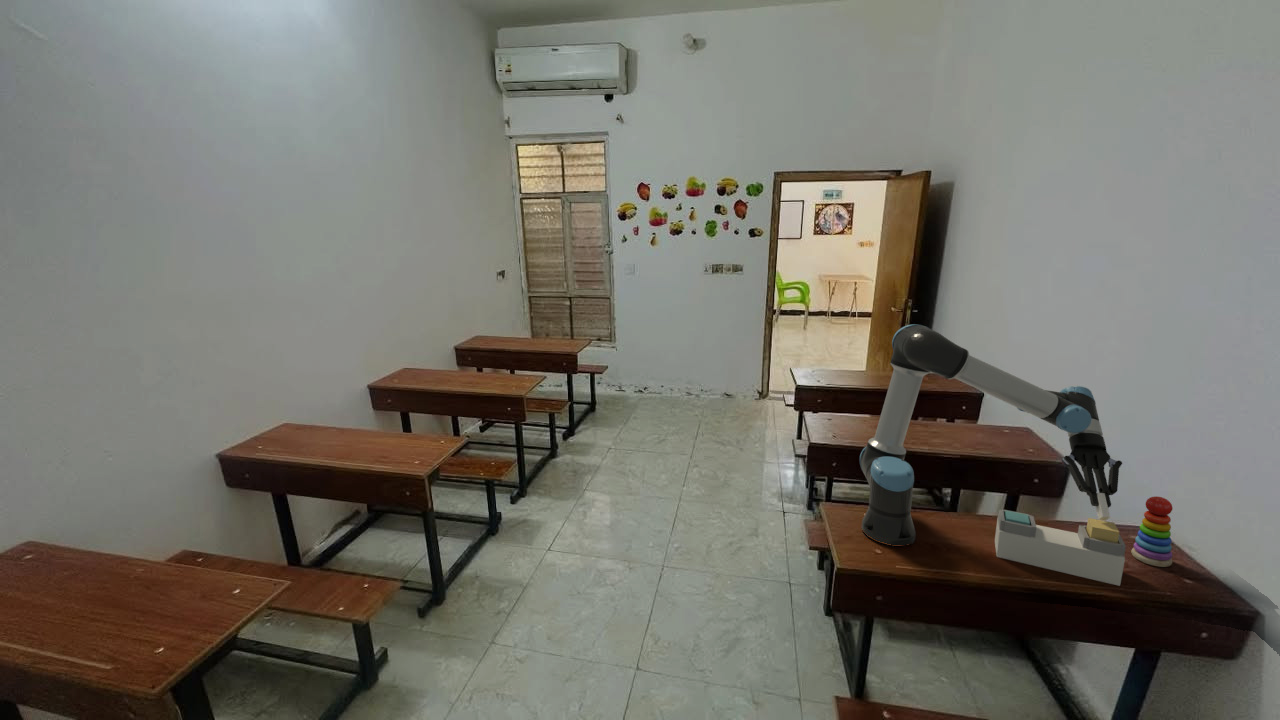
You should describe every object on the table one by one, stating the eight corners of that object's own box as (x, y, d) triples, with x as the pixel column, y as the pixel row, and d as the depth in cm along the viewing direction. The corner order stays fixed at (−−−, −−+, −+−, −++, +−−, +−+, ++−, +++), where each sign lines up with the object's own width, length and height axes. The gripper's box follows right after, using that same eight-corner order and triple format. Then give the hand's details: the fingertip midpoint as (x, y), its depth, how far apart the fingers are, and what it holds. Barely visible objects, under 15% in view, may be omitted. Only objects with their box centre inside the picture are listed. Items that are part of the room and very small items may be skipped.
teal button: (1005, 529, 140) (1006, 518, 139) (1003, 521, 144) (1005, 510, 143) (1028, 534, 137) (1029, 523, 136) (1026, 525, 141) (1027, 514, 141)
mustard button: (1090, 538, 130) (1092, 526, 129) (1086, 529, 134) (1088, 517, 133) (1117, 544, 127) (1119, 532, 126) (1112, 534, 131) (1114, 522, 131)
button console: (996, 556, 141) (1000, 521, 138) (994, 541, 148) (998, 507, 146) (1120, 586, 127) (1127, 547, 125) (1111, 567, 134) (1117, 530, 132)
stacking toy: (1153, 551, 140) (1165, 491, 136) (1180, 569, 132) (1193, 505, 129) (1122, 550, 141) (1133, 491, 137) (1148, 568, 133) (1160, 505, 129)
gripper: (1108, 444, 142) (1129, 526, 130) (1052, 440, 147) (1067, 518, 135) (1121, 433, 136) (1143, 518, 124) (1062, 429, 141) (1079, 510, 129)
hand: (1104, 518), depth 130 cm, fingers closed
